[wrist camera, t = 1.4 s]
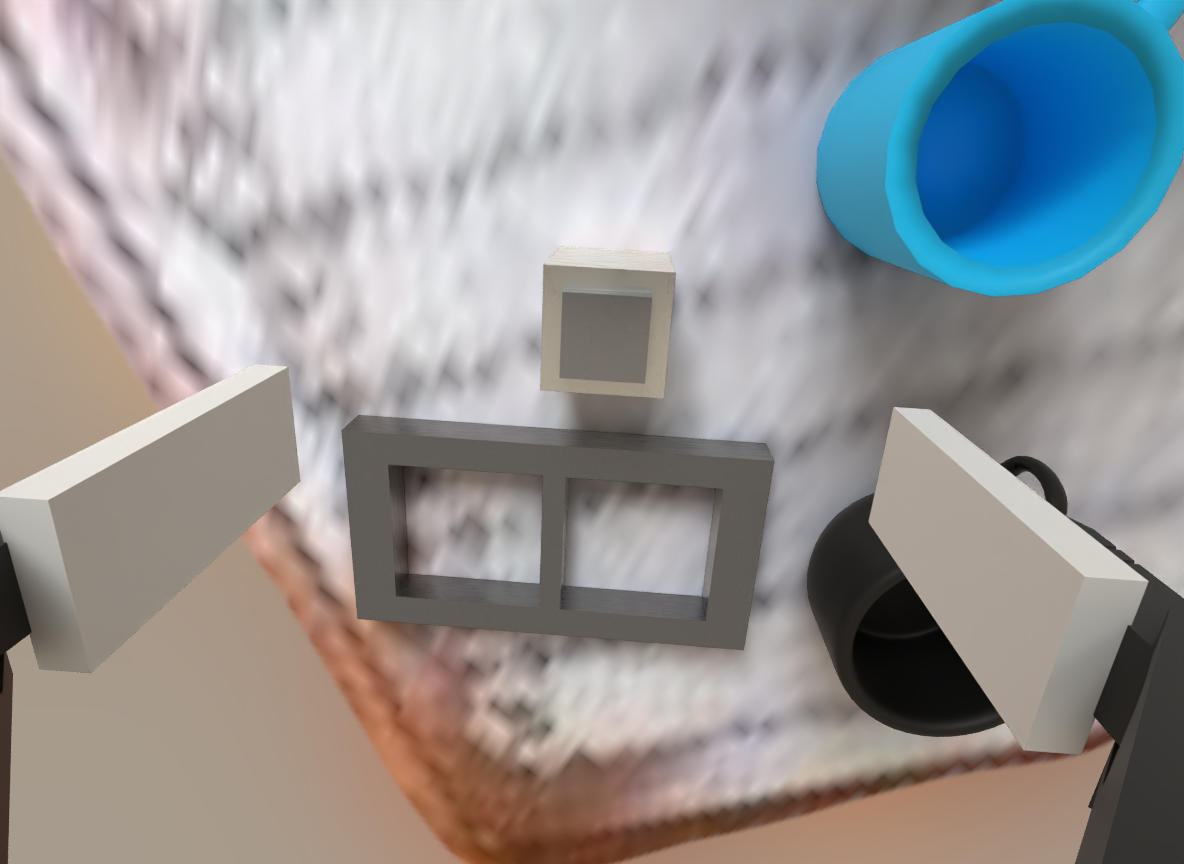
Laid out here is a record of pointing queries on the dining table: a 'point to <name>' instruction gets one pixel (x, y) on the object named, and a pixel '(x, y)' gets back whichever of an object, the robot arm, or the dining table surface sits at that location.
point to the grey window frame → (554, 529)
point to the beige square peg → (606, 321)
